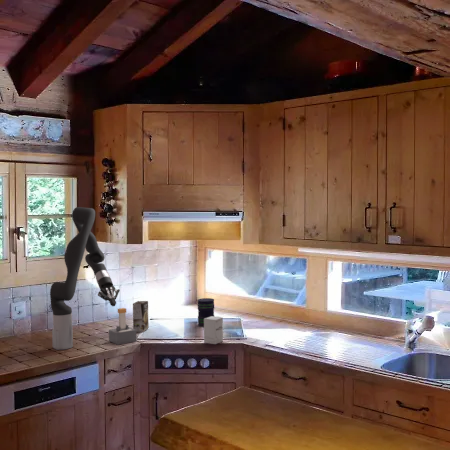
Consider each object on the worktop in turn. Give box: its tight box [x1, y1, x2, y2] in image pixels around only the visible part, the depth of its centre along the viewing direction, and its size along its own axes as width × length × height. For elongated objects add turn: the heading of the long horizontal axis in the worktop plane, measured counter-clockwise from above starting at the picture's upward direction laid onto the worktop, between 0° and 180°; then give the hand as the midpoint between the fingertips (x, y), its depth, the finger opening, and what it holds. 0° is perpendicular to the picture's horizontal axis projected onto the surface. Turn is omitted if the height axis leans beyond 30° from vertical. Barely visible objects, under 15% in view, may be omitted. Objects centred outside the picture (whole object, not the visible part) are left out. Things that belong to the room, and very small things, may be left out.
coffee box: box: [132, 300, 150, 333], centre depth 317 cm, size 9×6×16 cm
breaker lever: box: [117, 307, 127, 330], centre depth 293 cm, size 3×4×11 cm
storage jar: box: [197, 297, 215, 328], centre depth 327 cm, size 10×10×15 cm
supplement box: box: [203, 315, 224, 345], centre depth 288 cm, size 7×7×13 cm
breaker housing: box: [108, 324, 138, 346], centre depth 293 cm, size 10×11×8 cm
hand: (114, 305), depth 300 cm, fingers closed
